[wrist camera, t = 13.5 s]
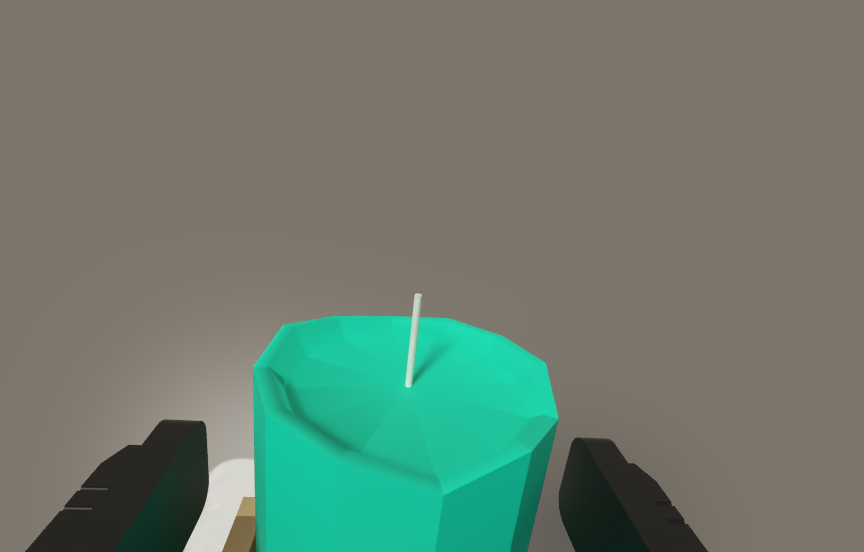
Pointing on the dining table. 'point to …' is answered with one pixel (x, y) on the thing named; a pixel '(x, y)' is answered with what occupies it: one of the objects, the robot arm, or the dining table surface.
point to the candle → (398, 437)
